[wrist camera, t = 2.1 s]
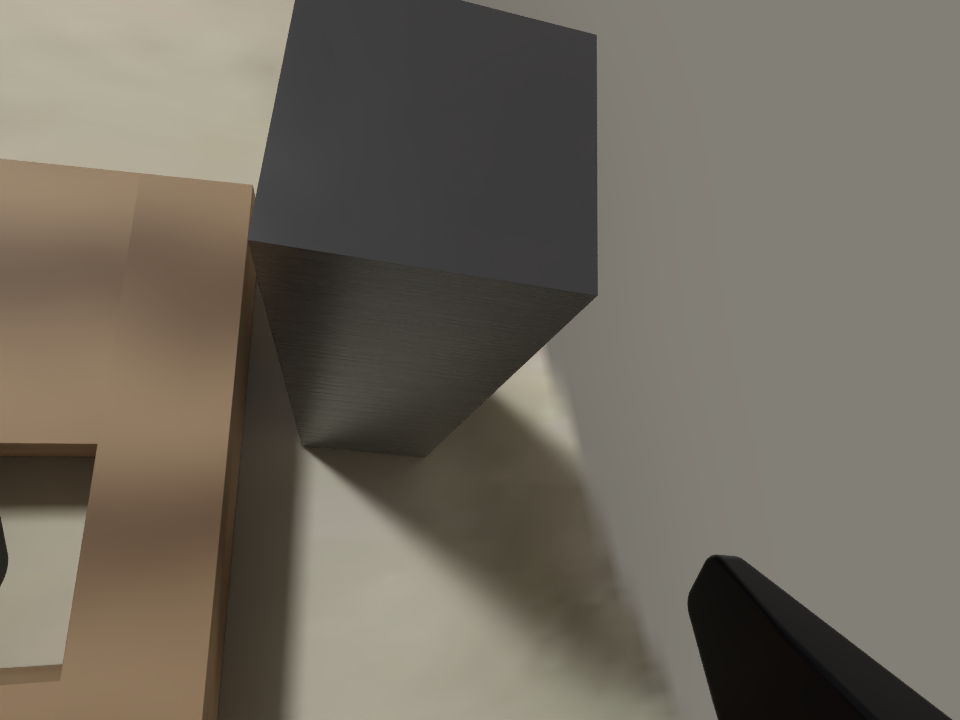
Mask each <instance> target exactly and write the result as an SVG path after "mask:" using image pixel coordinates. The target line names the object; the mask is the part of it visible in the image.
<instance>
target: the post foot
mask: <svg viewBox="0 0 960 720" xmlns="http://www.w3.org/2000/svg"><path fill="white" fill-rule="evenodd" d="M254 203H255V194H254V189H253V185H247V184H238V183H228V182H219V181H209V180H199V179H190V178H180V177H170V176H161V175H151V174H141V173H132V172H122V171H113V170H103V169H93V168H84V167H74V166H64V165H55V164H45V163H36V162H26V161H16V160H7V159H0V456H10V457H95V463H94V470H93V476H92V482H91V489H90V495H89V501H88V508H87V514H86V520H85V527H84V533H83V539H82V545H81V552H80V558H79V564H78V571H77V577H76V583H75V590H74V596H73V602H72V609H71V615H70V621H69V628H68V634H67V640H66V647H65V653H64V659H63V664H61V665H46V666H31V667H16V668H1V669H0V720H217V717H218V705H219V694H220V683H221V671H222V660H223V649H224V637H225V626H226V615H227V603H228V592H229V581H230V569H231V558H232V547H233V536H234V524H235V513H236V502H237V490H238V479H239V468H240V456H241V445H242V434H243V422H244V411H245V400H246V388H247V377H248V366H249V354H250V343H251V332H252V320H253V309H254V298H255V286H256V271H255V267H254V263H253V260H252V256H251V252H250V248H249V245H248V241H247V238H248V233H249V228H250V223H251V218H252V213H253V208H254Z"/></svg>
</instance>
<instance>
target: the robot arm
mask: <svg viewBox="0 0 960 720" xmlns="http://www.w3.org/2000/svg"><path fill="white" fill-rule="evenodd" d="M7 567H8V553H7V548H6V543H5V538H4V532H3V527H2V522H1V517H0V586H1V584H2V582H3V580H4V577H5V574H6V571H7ZM688 612H689V616H690V620H691V623H692V627H693V630H694V634H695V638H696V642H697V646H698V649H699V653H700V657H701V660H702V664H703V668H704V671H705V675H706V679H707V682H708V686H709V689H710V694H711V697H712V701H713V704H714V708H715V711H716V714H717V717H718V720H952V719H950V718H949V717H948V716H947V715H946V714H944V713H943V712H942V711H940V710H939V709H938V708H936V707H935V706H934V705H932V704H931V703H930V702H929V701H927V700H926V699H924V698H923V697H922V696H921V695H919V694H918V693H917V692H916V691H914V690H913V689H912V688H910V687H909V686H908V685H906V684H905V683H904V682H902V681H901V680H900V679H899V678H897V677H896V676H895V675H893V674H892V673H891V672H889V671H888V670H887V669H885V668H884V667H883V666H882V665H880V664H879V663H877V662H876V661H875V660H874V659H872V658H871V657H870V656H868V655H867V654H866V653H864V652H863V651H862V650H861V649H859V648H858V647H857V646H855V645H854V644H853V643H851V642H850V641H849V640H848V639H846V638H845V637H844V636H842V635H841V634H840V633H838V632H837V631H836V630H835V629H833V628H832V627H831V626H829V625H828V624H827V623H825V622H824V621H823V620H821V619H820V618H819V617H817V616H816V615H815V614H814V613H812V612H811V611H810V610H808V609H807V608H806V607H804V606H803V605H802V604H801V603H799V602H798V601H797V600H795V599H794V598H793V597H791V596H790V595H789V594H787V593H786V592H785V591H784V590H782V589H781V588H780V587H778V586H777V585H776V584H774V583H773V582H772V581H771V580H769V579H768V578H767V577H765V576H764V575H763V574H761V573H760V572H759V571H758V570H756V569H755V568H754V567H752V566H751V565H750V564H748V563H747V562H746V561H744V560H743V559H742V558H739V557H736V556H726V555H712V556H710V557H709V558H708V559H707V560H706V561H705V563H704V565H703V567H702V569H701V571H700V573H699V575H698V577H697V579H696V580H695V583H694V584H693V586H692V588H691V590H690V592H689V596H688Z"/></svg>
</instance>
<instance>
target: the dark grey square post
mask: <svg viewBox="0 0 960 720" xmlns="http://www.w3.org/2000/svg"><path fill="white" fill-rule="evenodd" d="M596 40H597V36H596V35H595V34H591V33H586V32H583V31H579V30H575V29H571V28H567V27H563V26H559V25H555V24H551V23H547V22H544V21H540V20H535V19H531V18H528V17H524V16H520V15H516V14H512V13H508V12H504V11H500V10H496V9H492V8H489V7H485V6H481V5H477V4H473V3H469V2H465V1H461V0H295V4H294V9H293V14H292V19H291V24H290V29H289V34H288V39H287V44H286V49H285V54H284V59H283V64H282V69H281V74H280V79H279V83H278V88H277V93H276V98H275V103H274V108H273V113H272V118H271V123H270V128H269V133H268V138H267V143H266V148H265V153H264V158H263V163H262V168H261V173H260V178H259V183H258V188H257V193H256V198H255V203H254V208H253V213H252V218H251V223H250V228H249V233H248V238H247V241H248V245H249V248H250V252H251V256H252V260H253V263H254V267H255V271H256V275H257V279H258V282H259V286H260V290H261V294H262V297H263V301H264V305H265V309H266V312H267V316H268V320H269V324H270V327H271V331H272V335H273V339H274V343H275V346H276V350H277V354H278V358H279V361H280V365H281V369H282V373H283V376H284V380H285V384H286V388H287V392H288V395H289V399H290V403H291V407H292V410H293V414H294V418H295V422H296V425H297V429H298V433H299V437H300V441H301V444H302V446H307V447H318V448H329V449H340V450H350V451H361V452H372V453H383V454H393V455H404V456H415V457H426V456H427V455H428V454H429V453H430V452H431V451H432V450H433V449H434V448H435V447H436V446H437V445H438V444H439V443H440V442H442V441H443V440H444V439H445V438H446V437H447V436H448V435H449V434H450V433H451V432H452V431H453V430H454V429H455V428H456V427H458V426H459V425H460V424H461V423H462V422H463V421H464V420H465V419H466V418H467V417H468V416H469V415H470V414H471V413H473V412H474V411H475V410H476V409H477V408H478V407H479V406H480V405H481V404H482V403H483V402H484V401H485V400H486V399H487V398H489V397H490V396H491V395H492V394H493V393H494V392H495V391H496V390H497V389H498V388H499V387H500V386H501V385H502V384H504V383H505V382H506V381H507V380H508V379H509V378H510V377H511V376H512V375H513V374H514V373H515V372H516V371H517V370H518V369H520V368H521V367H522V366H523V365H524V364H525V363H526V362H527V361H528V360H529V359H530V358H531V357H532V356H533V355H534V354H536V353H537V352H538V351H539V350H540V349H541V348H542V347H543V346H544V345H545V344H546V343H547V342H548V341H549V340H551V338H553V337H554V336H555V335H556V334H557V333H558V332H559V331H560V330H561V329H562V328H563V327H564V326H565V325H566V324H568V323H569V322H570V321H571V320H572V319H573V318H574V317H575V316H576V315H577V314H578V313H579V312H580V311H581V310H583V309H584V308H585V307H586V306H587V305H588V304H589V303H590V302H591V301H592V300H593V299H594V298H595V297H596V296H597V295H598V284H597V282H598V281H597V280H598V279H597V276H598V275H597V274H598V272H597V63H596V62H597V48H596V47H597V46H596V45H597V43H596Z"/></svg>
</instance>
